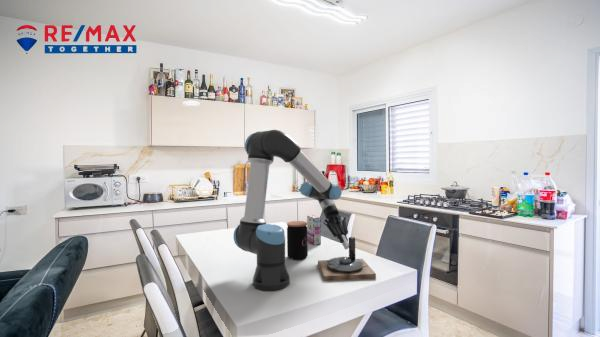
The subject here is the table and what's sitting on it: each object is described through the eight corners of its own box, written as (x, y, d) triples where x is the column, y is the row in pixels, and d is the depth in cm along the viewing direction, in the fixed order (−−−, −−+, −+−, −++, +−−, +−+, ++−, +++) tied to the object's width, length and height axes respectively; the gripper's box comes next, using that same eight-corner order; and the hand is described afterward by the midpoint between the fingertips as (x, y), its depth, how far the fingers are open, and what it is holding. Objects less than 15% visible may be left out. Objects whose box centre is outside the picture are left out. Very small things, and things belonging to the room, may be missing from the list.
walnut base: (324, 280, 123) (324, 275, 123) (317, 264, 143) (317, 260, 143) (375, 278, 125) (375, 273, 125) (362, 262, 145) (362, 258, 145)
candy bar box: (321, 244, 179) (321, 217, 179) (313, 245, 177) (313, 218, 177) (314, 240, 189) (313, 214, 189) (306, 240, 188) (306, 215, 187)
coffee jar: (305, 260, 149) (305, 225, 149) (285, 259, 151) (284, 224, 151) (309, 254, 160) (308, 221, 159) (290, 253, 162) (289, 220, 162)
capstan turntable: (350, 275, 123) (350, 247, 123) (320, 267, 133) (319, 241, 133) (369, 264, 135) (368, 239, 135) (339, 258, 145) (339, 234, 145)
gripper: (337, 212, 163) (355, 250, 148) (316, 214, 158) (333, 253, 143) (342, 203, 158) (361, 242, 143) (321, 205, 153) (338, 245, 138)
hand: (347, 247), depth 143 cm, fingers closed
